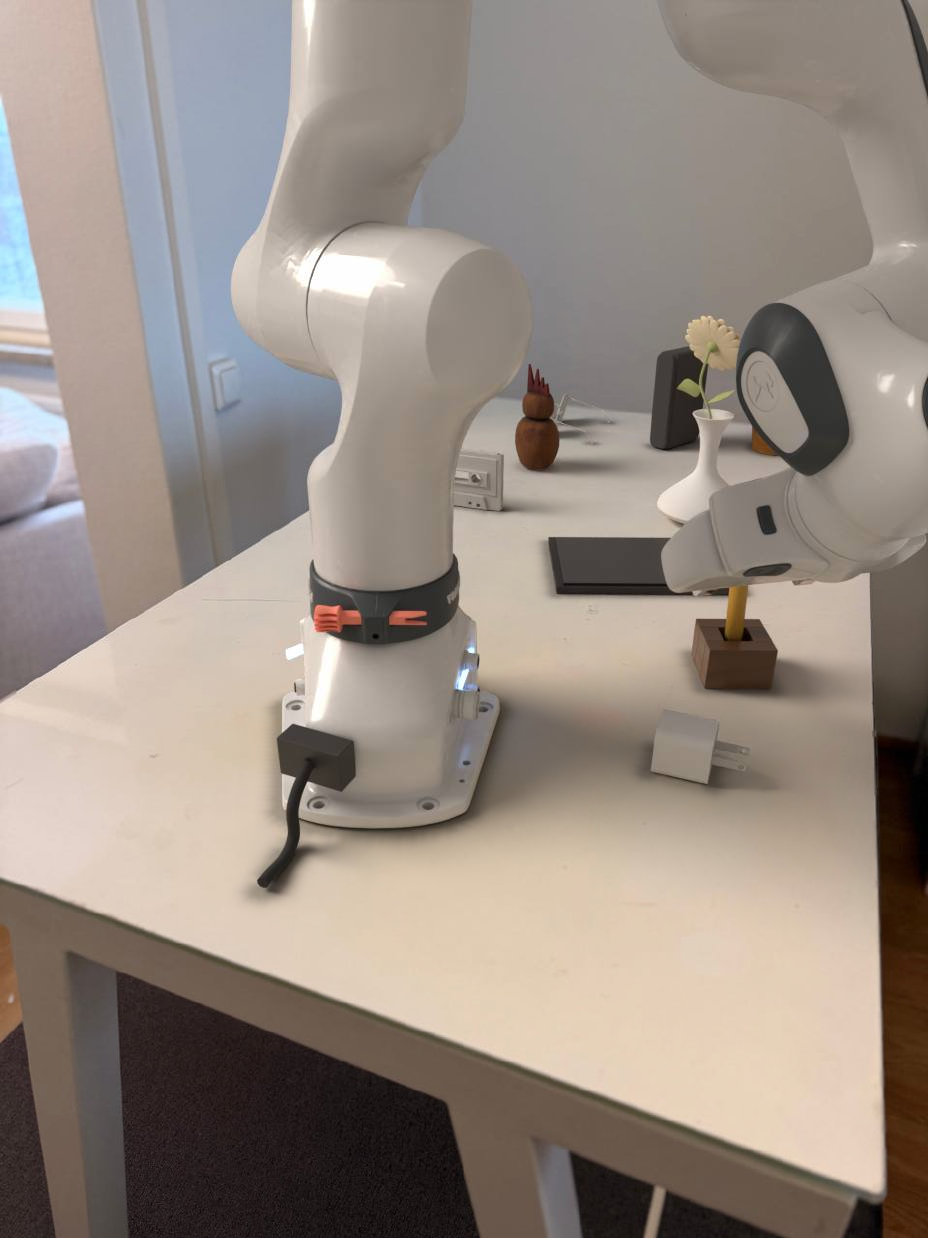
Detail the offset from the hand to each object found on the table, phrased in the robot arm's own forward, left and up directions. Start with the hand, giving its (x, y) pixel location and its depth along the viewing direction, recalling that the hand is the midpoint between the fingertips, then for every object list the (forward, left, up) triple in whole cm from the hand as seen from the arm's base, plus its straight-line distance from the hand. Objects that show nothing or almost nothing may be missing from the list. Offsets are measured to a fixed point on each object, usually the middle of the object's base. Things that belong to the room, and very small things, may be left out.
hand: (749, 582), depth 79 cm
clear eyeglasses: (+79, +7, -10) cm, 80 cm away
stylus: (+1, 0, -10) cm, 10 cm away
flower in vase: (+40, -5, -10) cm, 41 cm away
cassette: (+44, +26, -10) cm, 52 cm away
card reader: (+72, -8, -10) cm, 73 cm away
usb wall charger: (-14, +6, -10) cm, 18 cm away
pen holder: (+1, 0, -10) cm, 10 cm away
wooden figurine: (+60, +15, -10) cm, 62 cm away
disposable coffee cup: (+69, -23, -10) cm, 73 cm away
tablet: (+24, +5, -10) cm, 26 cm away
